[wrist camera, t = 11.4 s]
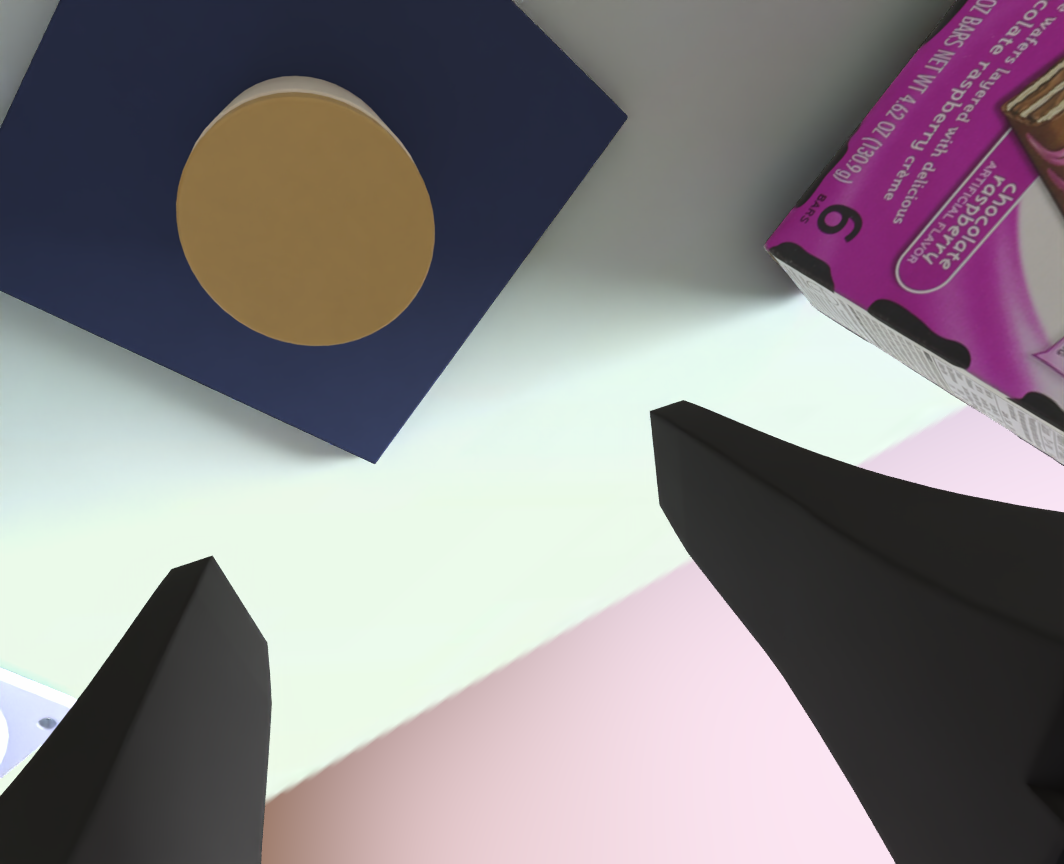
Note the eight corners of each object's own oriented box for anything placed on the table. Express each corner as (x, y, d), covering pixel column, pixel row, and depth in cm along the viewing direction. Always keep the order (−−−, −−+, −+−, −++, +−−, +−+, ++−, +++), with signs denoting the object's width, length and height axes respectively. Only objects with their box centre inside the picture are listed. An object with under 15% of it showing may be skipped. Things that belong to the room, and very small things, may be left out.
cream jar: (311, 306, 17) (313, 392, 13) (162, 165, 15) (109, 217, 11) (440, 194, 17) (485, 247, 13) (309, 29, 14) (312, 28, 10)
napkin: (373, 456, 21) (375, 465, 20) (-54, 256, 15) (-64, 262, 15) (622, 114, 18) (629, 116, 17) (205, -297, 12) (202, -308, 12)
